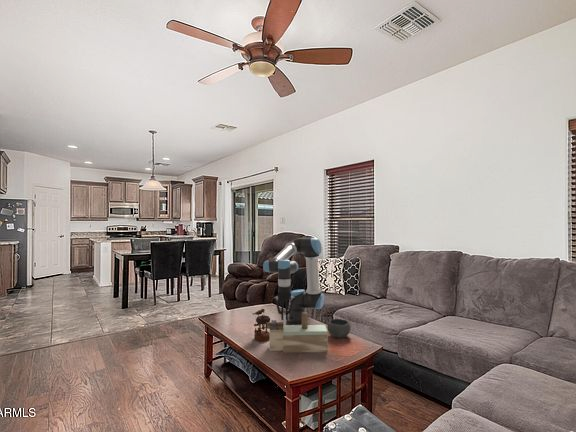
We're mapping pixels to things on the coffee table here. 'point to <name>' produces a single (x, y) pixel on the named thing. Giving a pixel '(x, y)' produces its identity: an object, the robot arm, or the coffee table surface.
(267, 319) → the music box
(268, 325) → the tan wooden beam
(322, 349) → the toolbox
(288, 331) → the lid
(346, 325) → the bowl
